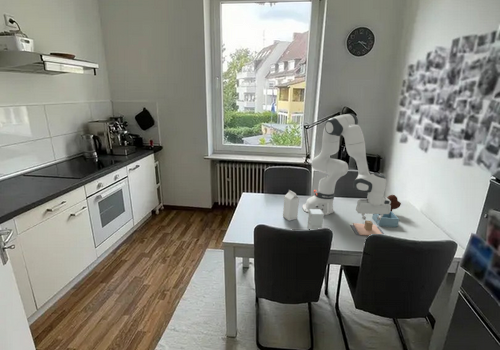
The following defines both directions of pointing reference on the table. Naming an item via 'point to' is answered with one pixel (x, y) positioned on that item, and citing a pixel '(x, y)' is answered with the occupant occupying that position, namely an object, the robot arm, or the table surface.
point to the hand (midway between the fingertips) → (371, 219)
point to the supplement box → (315, 219)
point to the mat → (359, 234)
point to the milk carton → (290, 206)
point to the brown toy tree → (394, 202)
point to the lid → (366, 228)
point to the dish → (387, 220)
